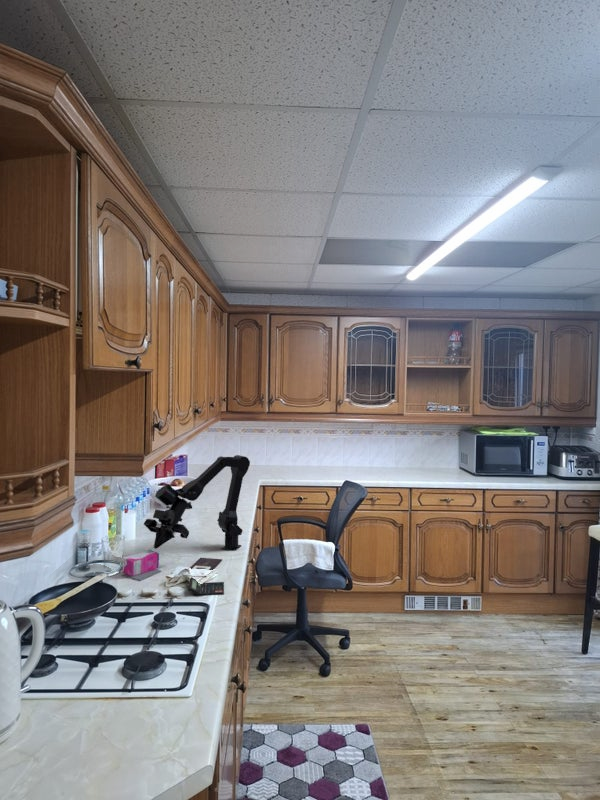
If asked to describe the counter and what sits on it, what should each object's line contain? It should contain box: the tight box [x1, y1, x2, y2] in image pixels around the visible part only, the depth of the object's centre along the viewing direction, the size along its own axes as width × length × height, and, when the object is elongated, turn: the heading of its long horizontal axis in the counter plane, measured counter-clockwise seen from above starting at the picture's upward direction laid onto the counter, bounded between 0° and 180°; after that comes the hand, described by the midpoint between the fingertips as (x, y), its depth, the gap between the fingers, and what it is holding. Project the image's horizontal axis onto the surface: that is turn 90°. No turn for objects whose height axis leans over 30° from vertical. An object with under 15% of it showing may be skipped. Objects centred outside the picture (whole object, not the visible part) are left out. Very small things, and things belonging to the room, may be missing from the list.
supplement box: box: [122, 549, 160, 577], centre depth 178 cm, size 6×6×12 cm
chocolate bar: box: [189, 557, 223, 571], centre depth 183 cm, size 9×1×18 cm
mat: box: [121, 569, 162, 582], centre depth 176 cm, size 10×9×1 cm
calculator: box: [187, 576, 225, 597], centre depth 163 cm, size 9×12×3 cm
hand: (155, 548), depth 182 cm, fingers closed
